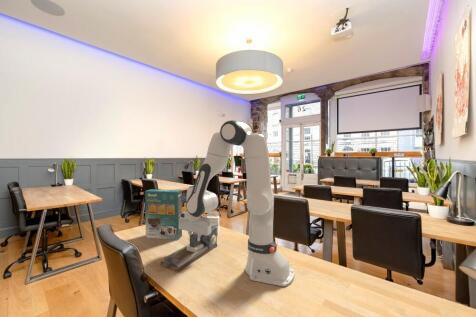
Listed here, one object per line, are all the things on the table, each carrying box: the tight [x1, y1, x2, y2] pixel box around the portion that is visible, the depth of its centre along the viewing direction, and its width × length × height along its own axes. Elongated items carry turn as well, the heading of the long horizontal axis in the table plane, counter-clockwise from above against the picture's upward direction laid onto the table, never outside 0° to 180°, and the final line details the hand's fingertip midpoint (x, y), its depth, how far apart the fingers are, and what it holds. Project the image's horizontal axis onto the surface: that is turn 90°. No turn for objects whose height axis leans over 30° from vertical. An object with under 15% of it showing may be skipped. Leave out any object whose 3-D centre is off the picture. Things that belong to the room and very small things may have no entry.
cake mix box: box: [144, 188, 183, 241], centre depth 140 cm, size 22×6×30 cm, turn 82°
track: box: [159, 226, 218, 273], centre depth 116 cm, size 12×31×12 cm, turn 150°
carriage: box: [186, 232, 203, 253], centre depth 119 cm, size 7×6×8 cm
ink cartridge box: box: [206, 210, 220, 236], centre depth 146 cm, size 9×5×15 cm, turn 84°
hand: (194, 239), depth 119 cm, fingers closed on carriage, 3 cm apart
